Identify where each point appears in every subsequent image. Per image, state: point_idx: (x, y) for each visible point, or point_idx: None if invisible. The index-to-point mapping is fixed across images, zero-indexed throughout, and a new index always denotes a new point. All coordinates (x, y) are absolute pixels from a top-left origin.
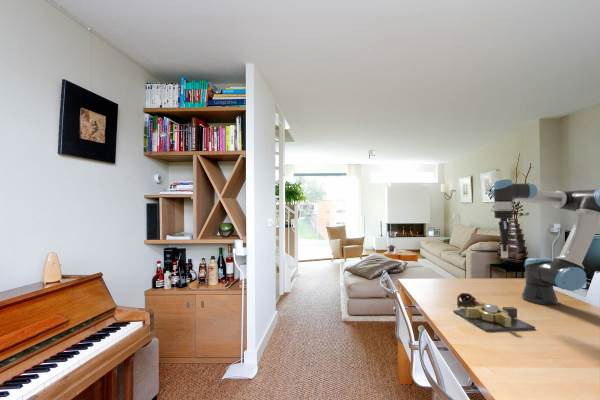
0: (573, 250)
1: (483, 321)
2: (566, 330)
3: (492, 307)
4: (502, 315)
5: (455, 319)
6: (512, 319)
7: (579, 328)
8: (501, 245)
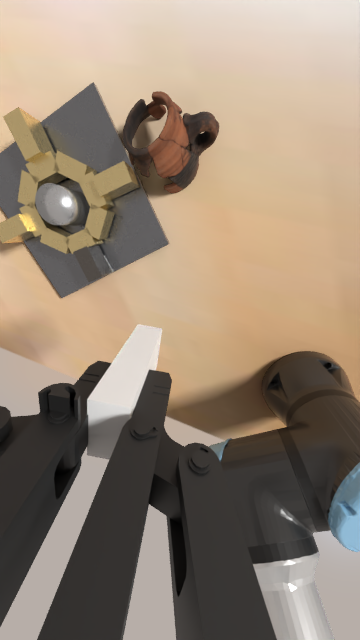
0: None
1: None
2: (91, 352)
3: (36, 205)
4: (3, 223)
5: (27, 86)
6: None
7: None
8: (93, 393)
